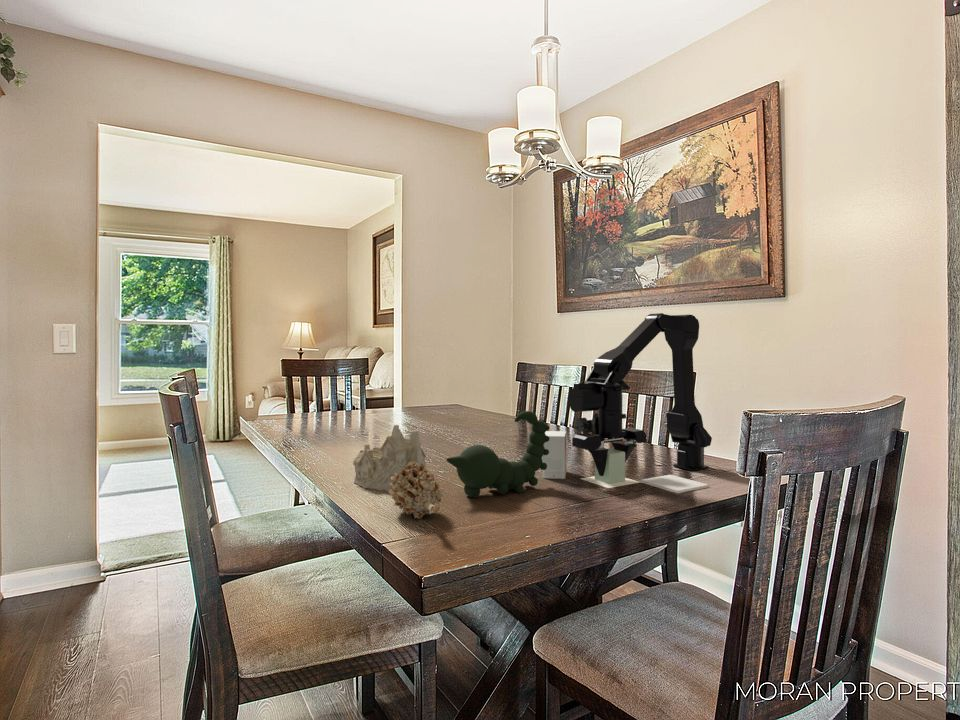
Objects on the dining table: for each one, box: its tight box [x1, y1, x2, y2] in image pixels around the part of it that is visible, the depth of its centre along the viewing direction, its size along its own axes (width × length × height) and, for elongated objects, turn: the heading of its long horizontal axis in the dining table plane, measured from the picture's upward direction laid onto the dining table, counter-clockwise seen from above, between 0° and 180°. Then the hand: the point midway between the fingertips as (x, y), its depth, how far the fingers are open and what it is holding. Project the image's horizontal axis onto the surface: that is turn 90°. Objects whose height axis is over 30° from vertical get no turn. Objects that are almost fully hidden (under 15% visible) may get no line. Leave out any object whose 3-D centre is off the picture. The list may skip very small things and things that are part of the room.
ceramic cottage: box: [352, 424, 427, 492], centre depth 136 cm, size 16×16×15 cm
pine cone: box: [387, 461, 444, 520], centre depth 107 cm, size 22×10×10 cm, turn 27°
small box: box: [542, 430, 568, 480], centre depth 141 cm, size 8×6×10 cm
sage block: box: [594, 447, 626, 484], centre depth 135 cm, size 5×5×7 cm
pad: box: [640, 474, 709, 494], centre depth 131 cm, size 10×11×1 cm
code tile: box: [579, 475, 641, 489], centre depth 135 cm, size 10×10×1 cm
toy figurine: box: [446, 410, 550, 499], centre depth 125 cm, size 9×19×25 cm
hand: (609, 474), depth 135 cm, fingers closed on sage block, 5 cm apart
